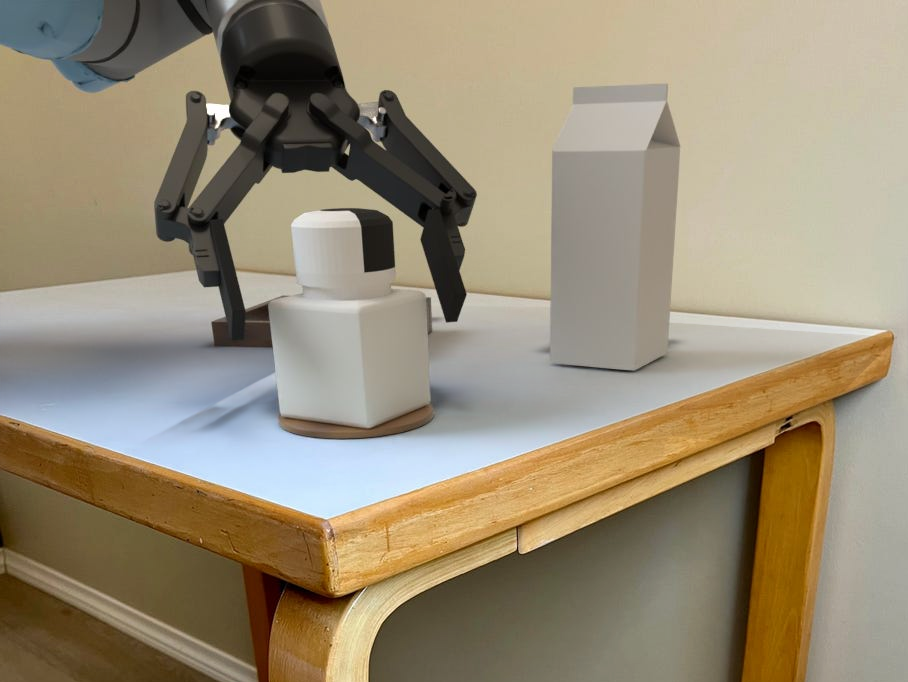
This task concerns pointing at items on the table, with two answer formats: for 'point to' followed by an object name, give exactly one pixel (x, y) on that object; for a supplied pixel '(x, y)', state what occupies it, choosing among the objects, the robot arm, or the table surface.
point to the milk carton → (613, 227)
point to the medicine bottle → (349, 325)
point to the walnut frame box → (264, 327)
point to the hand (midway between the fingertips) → (351, 317)
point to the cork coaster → (342, 432)
